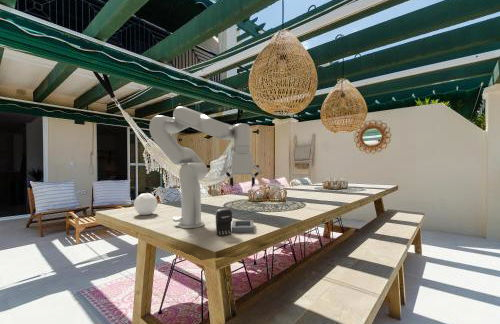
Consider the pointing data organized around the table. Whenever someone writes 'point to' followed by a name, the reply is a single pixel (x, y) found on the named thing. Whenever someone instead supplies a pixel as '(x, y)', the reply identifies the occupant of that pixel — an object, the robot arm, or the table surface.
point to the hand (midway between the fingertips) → (242, 186)
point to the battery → (223, 222)
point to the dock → (243, 226)
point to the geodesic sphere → (145, 204)
